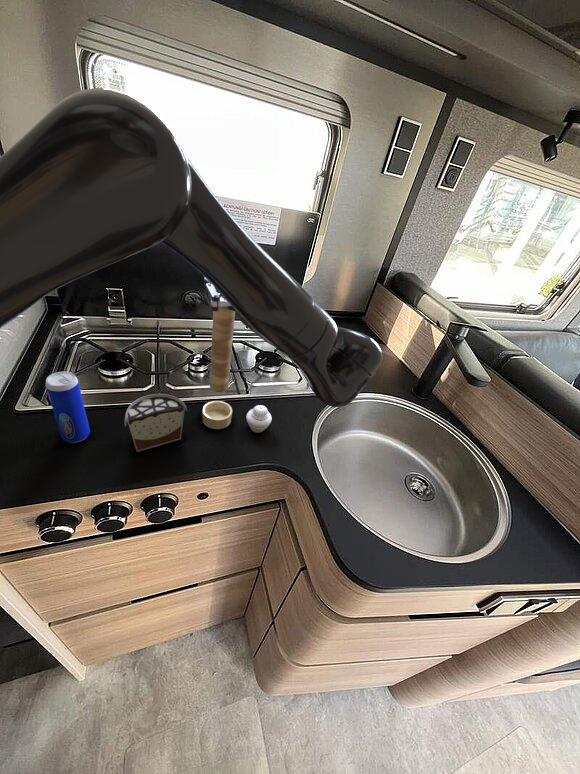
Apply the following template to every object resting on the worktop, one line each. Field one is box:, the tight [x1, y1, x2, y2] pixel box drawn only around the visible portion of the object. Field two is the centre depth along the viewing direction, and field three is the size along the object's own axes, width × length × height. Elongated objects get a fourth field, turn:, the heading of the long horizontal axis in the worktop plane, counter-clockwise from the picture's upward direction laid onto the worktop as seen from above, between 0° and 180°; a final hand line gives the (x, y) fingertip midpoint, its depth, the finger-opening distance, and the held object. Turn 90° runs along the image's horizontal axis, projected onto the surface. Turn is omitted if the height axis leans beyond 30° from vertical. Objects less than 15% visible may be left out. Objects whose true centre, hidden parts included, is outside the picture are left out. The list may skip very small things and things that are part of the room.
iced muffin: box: [123, 393, 188, 453], centre depth 72 cm, size 12×6×10 cm, turn 123°
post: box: [209, 307, 236, 393], centre depth 68 cm, size 4×4×26 cm
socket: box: [201, 400, 233, 430], centre depth 81 cm, size 7×7×3 cm
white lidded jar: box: [245, 404, 273, 434], centre depth 80 cm, size 6×6×7 cm
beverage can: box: [45, 371, 91, 444], centre depth 66 cm, size 5×5×15 cm
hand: (218, 279), depth 64 cm, fingers closed on post, 4 cm apart
